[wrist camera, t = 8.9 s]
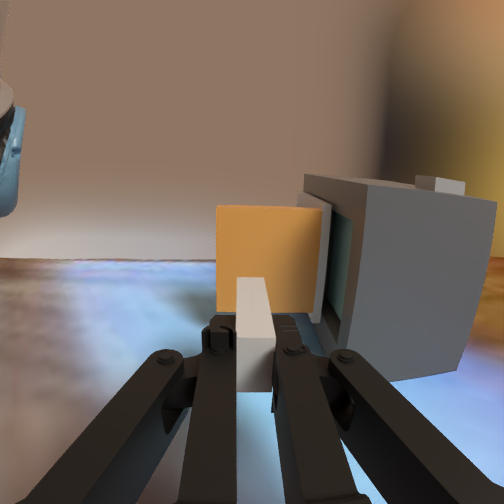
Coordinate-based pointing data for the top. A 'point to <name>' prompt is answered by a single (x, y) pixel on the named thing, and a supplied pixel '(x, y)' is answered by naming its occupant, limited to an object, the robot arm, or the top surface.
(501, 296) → the top surface
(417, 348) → the box
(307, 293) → the door
